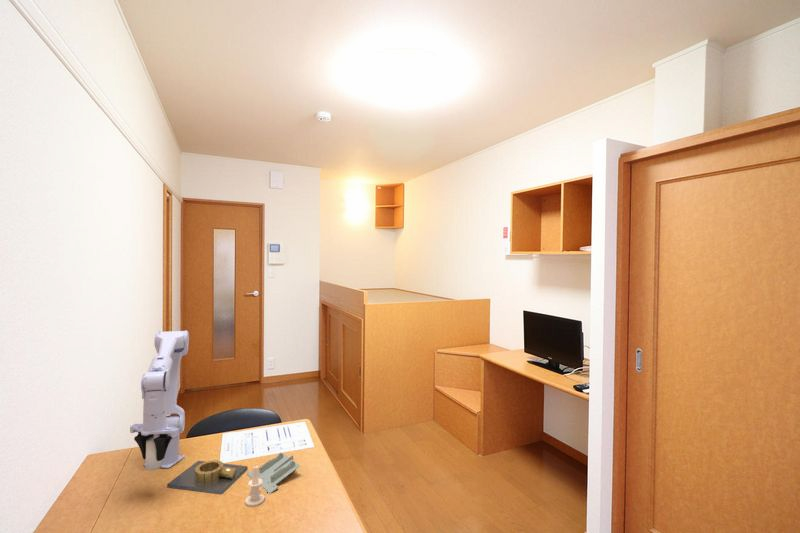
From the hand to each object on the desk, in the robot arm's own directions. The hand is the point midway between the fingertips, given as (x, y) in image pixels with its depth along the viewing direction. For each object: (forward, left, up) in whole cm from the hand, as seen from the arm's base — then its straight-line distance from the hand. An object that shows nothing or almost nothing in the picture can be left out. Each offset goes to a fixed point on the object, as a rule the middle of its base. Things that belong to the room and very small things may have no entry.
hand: (153, 458), depth 113 cm
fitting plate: (+11, +11, -10) cm, 18 cm away
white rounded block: (0, 0, -2) cm, 2 cm away
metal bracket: (+31, +16, -11) cm, 36 cm away
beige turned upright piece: (+31, +3, -11) cm, 33 cm away
